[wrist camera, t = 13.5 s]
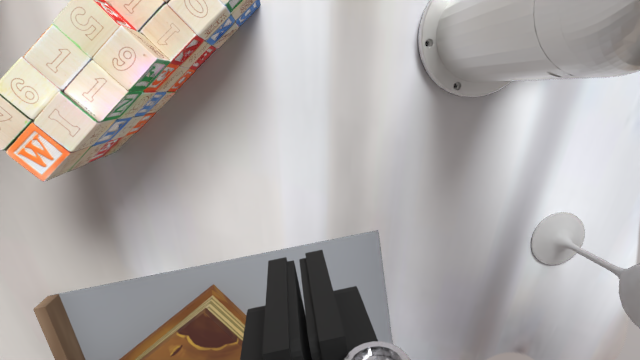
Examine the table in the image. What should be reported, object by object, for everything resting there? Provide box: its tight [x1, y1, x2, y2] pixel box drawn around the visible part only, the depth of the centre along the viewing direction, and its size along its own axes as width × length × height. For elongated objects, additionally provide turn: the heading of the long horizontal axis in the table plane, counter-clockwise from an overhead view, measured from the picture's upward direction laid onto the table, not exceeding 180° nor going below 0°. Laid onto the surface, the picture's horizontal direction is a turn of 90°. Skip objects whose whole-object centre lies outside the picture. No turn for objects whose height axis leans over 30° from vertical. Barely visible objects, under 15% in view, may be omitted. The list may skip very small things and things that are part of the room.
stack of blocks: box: [0, 0, 260, 182], centre depth 29 cm, size 21×6×12 cm, turn 133°
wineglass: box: [531, 212, 640, 328], centre depth 35 cm, size 8×8×21 cm
